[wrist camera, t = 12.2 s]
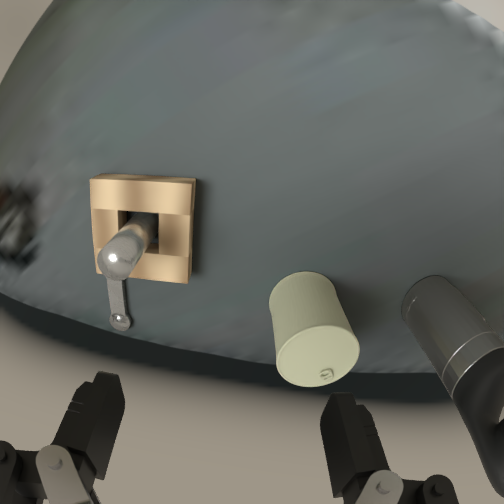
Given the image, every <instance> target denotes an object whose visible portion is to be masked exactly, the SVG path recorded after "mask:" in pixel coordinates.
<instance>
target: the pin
mask: <svg viewBox="0 0 504 504" xmlns="http://www.w3.org/2000/svg"><path fill="white" fill-rule="evenodd" d="M158 231H159V218H158V216H157V215H156V214H155V213H151V212H137V213H136V214H135V215H134V216H133V217H132V218H131V219H130V220H129V221H128V222H127V223H126V224H125V225H124V226H123V227H122V228H121V229H120V230H119V231H118V232H117V233H116V234H115V235H114V237H113V238H112V239H111V240H110V241H109V242H108V243H107V244H106V245H105V246H104V247H103V248H102V249H101V250H100V252H99V253H98V256H97V264H98V267H99V269H100V271H101V272H102V274H103V275H104V276H106V277H107V278H109V279H111V280H114V281H122V280H124V279H126V278H127V277H128V276H129V275H130V273H131V272H132V270H133V269H134V267H135V266H136V264H137V263H138V261H139V260H140V258H141V257H142V255H143V254H144V252H145V251H146V249H147V248H148V246H149V245H150V243H151V242H152V240H153V239H154V237H155V236H156V234H157V233H158Z"/></svg>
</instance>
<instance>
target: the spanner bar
mask: <svg viewBox="0 0 504 504" xmlns="http://www.w3.org/2000/svg"><path fill="white" fill-rule="evenodd" d="M107 285H108V293H109V300H110V307H111V316H110V319H109V320H110V323H111V325H112V326H113V327H114V328H115V329H117V330H120V331H125V330H127V329H128V328H129V326H130V324H131V321H132V320H131V317H130V315H129V314H128V312H127V304H126V294H125V284H124V280H122V281H114V280H111V279H109V278H107Z"/></svg>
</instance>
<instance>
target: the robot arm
mask: <svg viewBox="0 0 504 504" xmlns="http://www.w3.org/2000/svg"><path fill="white" fill-rule="evenodd" d="M401 312H402V317H403V319H404V321H405V322H406V324H407V325H408V327H409V328H410V330H411V331H412V333H413V335H414V336H415V338H416V339H417V341H418V343H419V344H420V346H421V347H422V349H423V351H424V352H425V354H426V355H427V357H428V359H429V360H430V362H431V364H432V365H433V367H434V369H435V370H436V372H437V374H438V375H439V377H440V379H441V380H442V382H443V384H444V385H445V387H446V389H447V390H448V392H449V394H450V396H451V398H452V399H453V401H454V403H455V405H456V407H457V408H458V410H459V413H460V415H461V417H462V419H463V421H464V423H465V425H466V427H467V428H468V431H469V433H470V435H471V437H472V440H473V442H474V444H475V446H476V449H477V452H478V454H479V457H480V459H481V462H482V465H483V467H484V470H485V472H486V474H487V477H488V479H489V481H490V483H491V484H492V486H493V488H494V489H495V491H496V492H497V493H498V494H499V495H501V496H502V497H504V419H503V420H501V421H500V422H499V417H500V414H501V411H502V408H503V406H504V342H503V341H502V340H501V339H500V338H499V336H498V335H497V334H496V333H495V332H494V331H493V330H492V328H491V327H490V326H489V325H488V324H487V323H486V322H485V318H484V317H483V316H482V315H481V314H480V312H479V311H478V310H477V309H476V308H475V307H474V306H473V305H472V304H471V303H470V302H469V301H468V300H467V299H466V298H465V296H464V295H463V294H462V293H461V292H460V291H459V290H458V289H457V288H456V287H455V286H452V285H451V284H450V283H449V282H448V281H447V280H446V279H445V278H443V277H441V276H429V277H427V278H424V279H422V280H421V281H419V282H418V283H416V284H415V285H414V286H413V287H412V288H411V289H410V290H409V292H408V293H407V295H406V296H405V299H404V301H403V304H402V311H401ZM124 409H125V398H124V394H123V391H122V387H121V383H120V379H119V376H118V375H117V374H113V373H107V372H103V371H99V372H98V373H97V374H96V376H95V379H94V381H93V383H91V382H84V383H83V384H82V385H81V386H80V387H79V388H78V389H77V390H76V392H75V394H74V396H73V398H72V402H70V404H69V406H68V410H67V411H66V413H65V415H64V418H63V420H62V422H61V424H60V427H59V429H58V431H57V433H56V436H55V438H54V440H53V442H52V443H51V444H50V445H48V446H45V447H43V448H42V449H41V450H40V451H23V450H15V449H14V447H13V446H12V445H11V444H10V443H8V442H6V441H0V504H43V500H44V499H48V500H49V503H50V504H101V502H100V500H99V498H98V496H97V494H96V492H95V490H94V488H93V484H94V480H95V478H97V479H100V480H104V478H105V475H106V471H107V467H108V464H109V460H110V457H111V453H112V450H113V447H114V443H115V440H116V436H117V433H118V430H119V427H120V423H121V420H122V417H123V414H124ZM320 430H321V435H322V440H323V445H324V450H325V455H326V460H327V465H328V471H329V476H330V481H331V486H332V492H333V497H334V498H338V497H343V500H344V504H459V503H458V499H457V496H456V493H455V490H454V487H453V484H452V482H451V481H450V479H448V478H447V477H445V476H443V475H433V476H430V477H429V478H428V479H427V480H425V481H415V480H405V479H401V478H400V477H399V476H398V475H397V474H396V473H394V472H392V471H391V470H390V468H389V466H388V463H387V460H386V457H385V454H384V451H383V447H382V445H381V441H380V439H379V436H378V432H377V429H376V427H375V423H374V421H373V418H372V415H371V413H370V412H369V411H368V410H367V409H366V407H365V406H364V405H356V402H355V399H354V396H353V394H352V393H351V392H344V393H332V394H331V395H330V397H329V400H328V402H327V404H326V407H325V409H324V411H323V413H322V416H321V420H320Z"/></svg>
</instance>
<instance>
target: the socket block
mask: <svg viewBox="0 0 504 504" xmlns="http://www.w3.org/2000/svg"><path fill="white" fill-rule="evenodd" d="M195 185H196V179H195V178H181V177H165V176H147V175H124V174H99V175H97V176H95V177H93V178H91V179H90V197H91V217H92V231H93V243H94V253H95V262H96V271H97V273H100V274H102V272H101V271H100V269H99V267H98V264H97V256H98V253H99V252H100V250H101V249H102V248H103V247H104V246H105V245H106V244H107V243H108V242H109V241H110V240H111V239H112V238H113V237H114V235H115V234H116V233H117V232H118V231H119V230H120V229H121V228H122V227H123V226H124V225H125V224H126V223H127V212H126V211H138V212H151V213H159V244H157V243H150V245H149V246H148V248H147V249H146V251H145V252H144V254H143V255H142V257H141V258H140V260H139V261H138V263H137V264H136V266H135V267H134V269H133V270H132V272H131V273H130V275H129V276H128V277H132V278H141V279H149V280H158V281H167V282H177V283H186V284H188V282H189V278H190V275H191V272H192V242H193V220H194V201H195Z"/></svg>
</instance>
